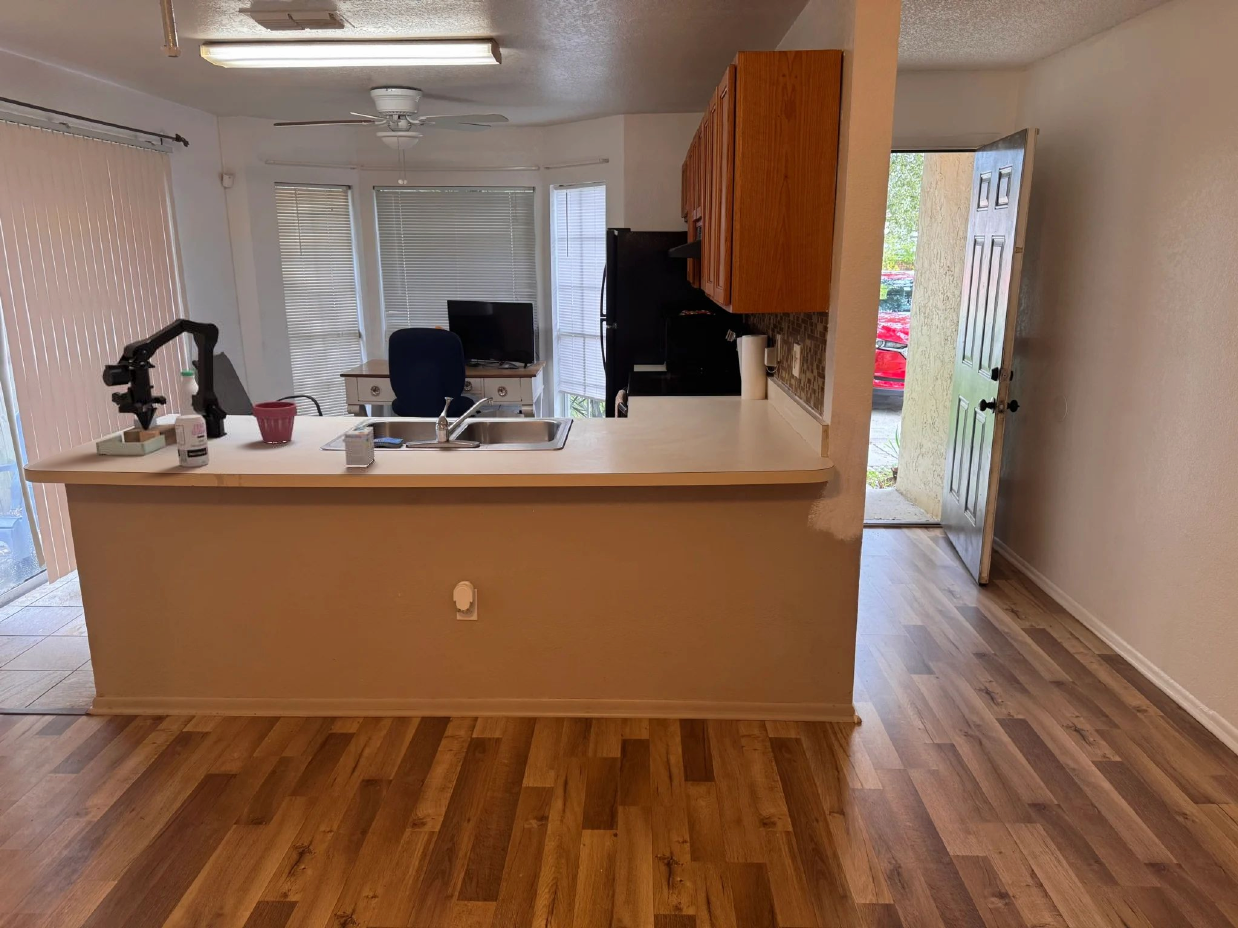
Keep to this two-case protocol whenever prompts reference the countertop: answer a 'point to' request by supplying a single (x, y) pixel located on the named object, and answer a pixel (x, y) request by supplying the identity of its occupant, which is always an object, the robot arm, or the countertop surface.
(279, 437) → the plant pot
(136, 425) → the pale grey squat block
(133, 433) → the walnut block
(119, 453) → the sage tray
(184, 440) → the supplement can
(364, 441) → the light bulb box
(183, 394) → the milk bottle
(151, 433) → the peach square prism
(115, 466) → the countertop surface
